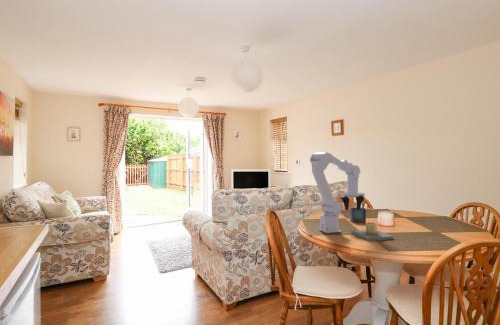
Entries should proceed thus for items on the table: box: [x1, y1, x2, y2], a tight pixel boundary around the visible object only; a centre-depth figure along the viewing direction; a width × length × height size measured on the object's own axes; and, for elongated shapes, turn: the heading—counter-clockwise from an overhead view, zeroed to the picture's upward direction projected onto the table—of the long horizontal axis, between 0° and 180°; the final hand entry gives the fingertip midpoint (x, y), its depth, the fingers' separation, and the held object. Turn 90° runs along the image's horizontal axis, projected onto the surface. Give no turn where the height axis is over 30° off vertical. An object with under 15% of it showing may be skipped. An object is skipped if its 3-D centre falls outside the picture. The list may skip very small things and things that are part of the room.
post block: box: [350, 229, 394, 242], centre depth 143 cm, size 14×14×6 cm
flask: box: [349, 204, 367, 224], centre depth 176 cm, size 9×3×11 cm, turn 65°
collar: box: [365, 221, 378, 235], centre depth 143 cm, size 5×5×5 cm
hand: (352, 209), depth 162 cm, fingers open, 7 cm apart
